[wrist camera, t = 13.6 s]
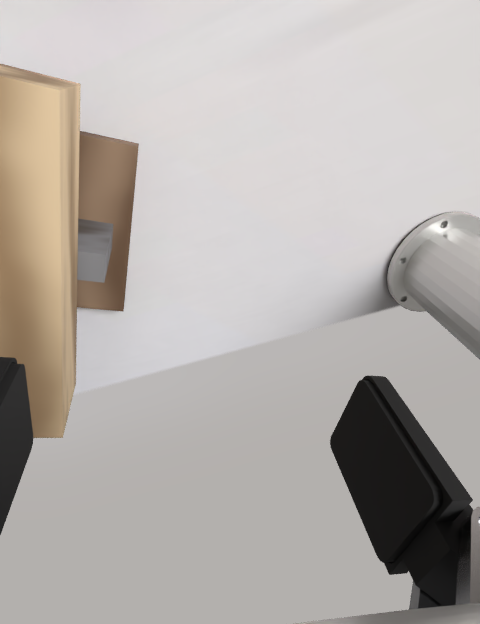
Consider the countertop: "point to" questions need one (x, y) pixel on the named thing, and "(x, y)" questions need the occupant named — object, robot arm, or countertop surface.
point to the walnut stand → (104, 219)
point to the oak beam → (40, 238)
